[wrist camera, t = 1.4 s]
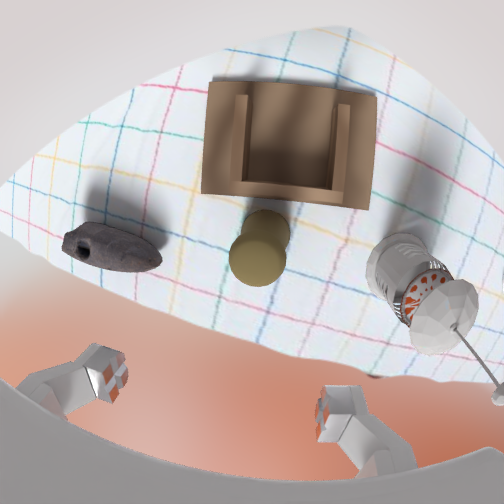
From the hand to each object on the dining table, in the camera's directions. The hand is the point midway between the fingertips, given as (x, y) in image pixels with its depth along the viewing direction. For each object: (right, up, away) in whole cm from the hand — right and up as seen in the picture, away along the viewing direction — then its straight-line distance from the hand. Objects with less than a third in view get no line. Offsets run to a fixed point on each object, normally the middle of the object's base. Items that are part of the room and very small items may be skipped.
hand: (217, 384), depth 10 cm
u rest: (+6, +18, +21) cm, 28 cm away
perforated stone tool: (-17, +7, +27) cm, 33 cm away
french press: (+22, +3, +23) cm, 32 cm away
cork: (+3, +7, +24) cm, 26 cm away
